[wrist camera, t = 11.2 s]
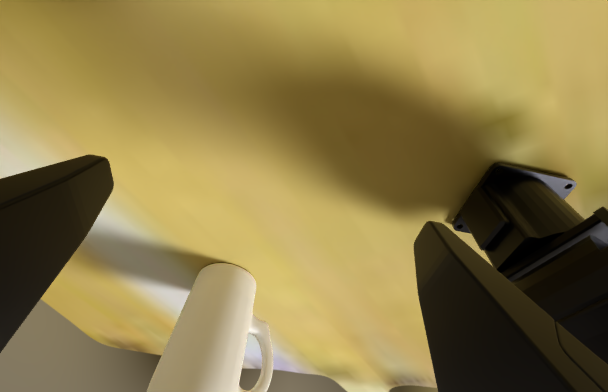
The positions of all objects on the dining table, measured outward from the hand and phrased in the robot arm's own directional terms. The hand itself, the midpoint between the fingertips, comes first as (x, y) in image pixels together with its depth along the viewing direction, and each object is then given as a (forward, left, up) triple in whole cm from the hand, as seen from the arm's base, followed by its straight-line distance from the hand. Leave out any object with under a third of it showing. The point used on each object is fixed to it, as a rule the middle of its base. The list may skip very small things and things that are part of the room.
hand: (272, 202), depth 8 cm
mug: (+2, +23, -13) cm, 27 cm away
